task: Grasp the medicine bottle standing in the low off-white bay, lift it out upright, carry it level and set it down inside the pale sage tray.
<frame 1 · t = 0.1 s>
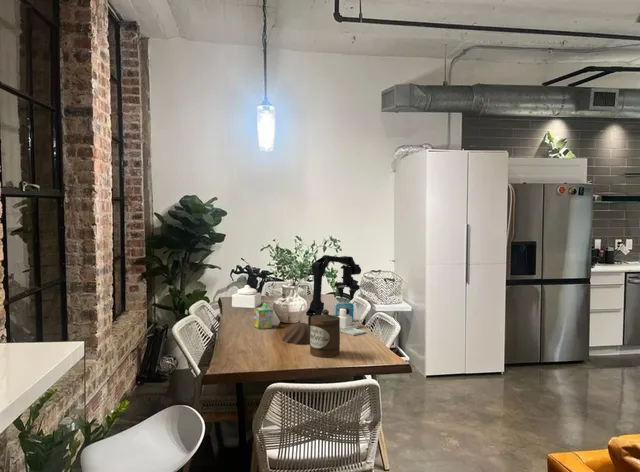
hand: (346, 298, 323), 15 cm above the table, fingers open, 9 cm apart
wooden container: (324, 353, 245), on the table
chalk box: (262, 327, 300), on the table
decorative dome: (300, 340, 270), on the table
data package: (343, 321, 322), on the table
tray: (353, 332, 290), on the table
bay: (344, 327, 303), on the table
medicine bottle: (344, 328, 303), on the table
butter dish: (246, 305, 373), on the table
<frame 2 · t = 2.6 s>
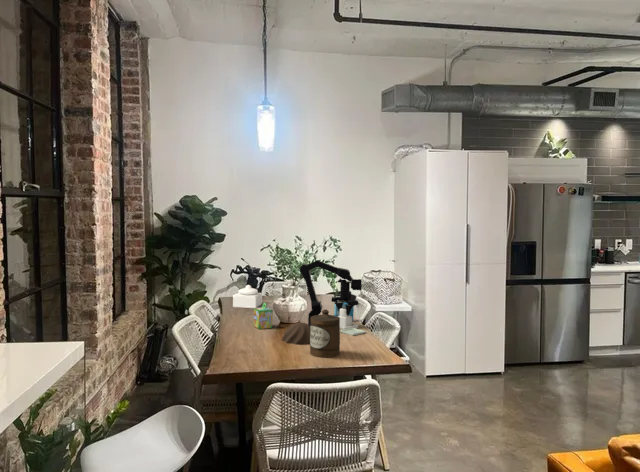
hand: (344, 314, 303), 8 cm above the table, fingers closed on medicine bottle, 6 cm apart
medicine bottle: (344, 328, 303), on the table, touching gripper
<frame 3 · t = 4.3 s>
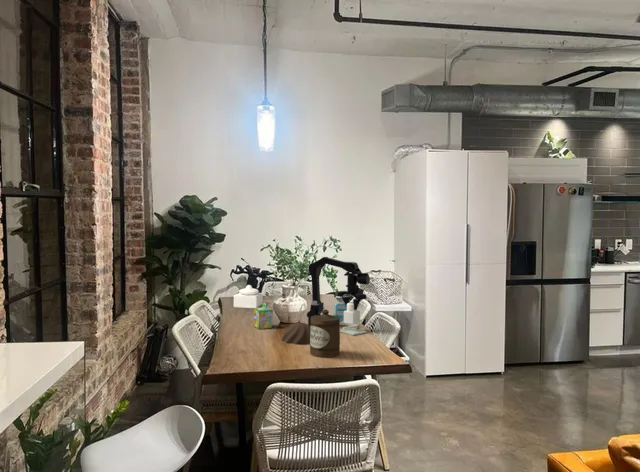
hand: (351, 309, 293), 13 cm above the table, fingers closed on medicine bottle, 6 cm apart
medicine bottle: (351, 323, 293), point 5 cm above the table, touching gripper
when the fingers open (9 cm above the table, at t = 6.1 s): medicine bottle stays where it is, resting on tray.
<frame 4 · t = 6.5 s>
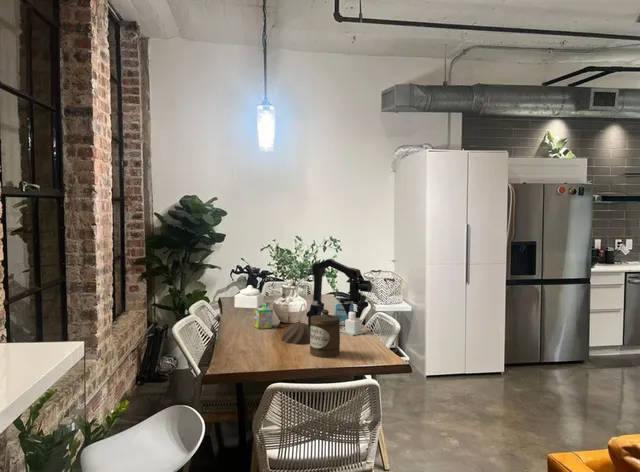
hand: (353, 316, 290), 10 cm above the table, fingers open, 9 cm apart
medicine bottle: (353, 332, 290), resting on tray
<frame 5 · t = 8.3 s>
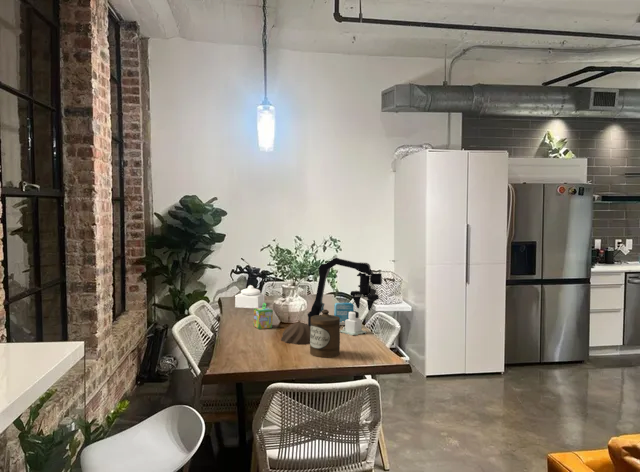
hand: (363, 309, 297), 13 cm above the table, fingers open, 9 cm apart
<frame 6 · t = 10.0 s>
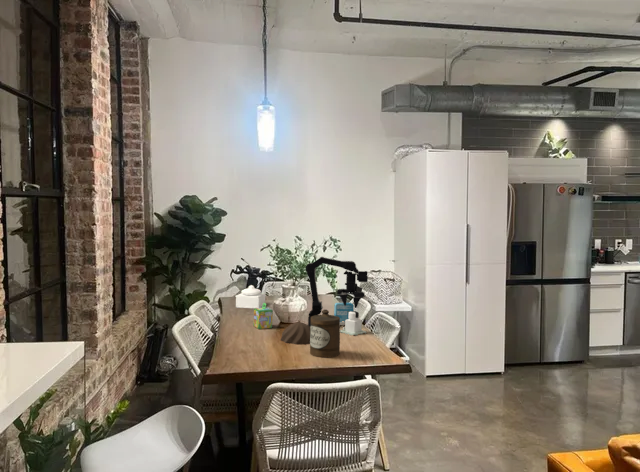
hand: (350, 306, 303), 13 cm above the table, fingers open, 9 cm apart
at the end: medicine bottle inside the target area on the tray (0.1 cm from its centre), point 0.4 cm above the tray's base; medicine bottle tilted 0°; the gripper is holding nothing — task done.
